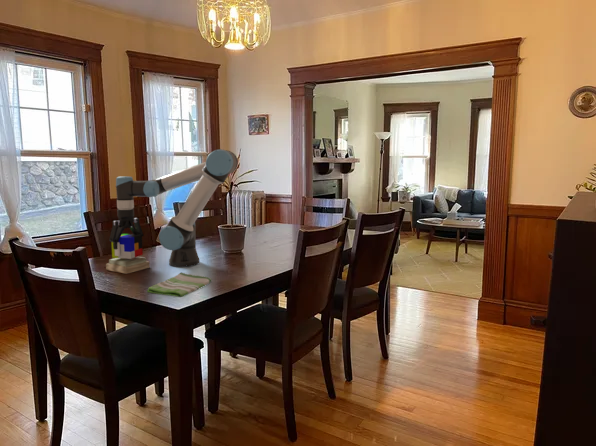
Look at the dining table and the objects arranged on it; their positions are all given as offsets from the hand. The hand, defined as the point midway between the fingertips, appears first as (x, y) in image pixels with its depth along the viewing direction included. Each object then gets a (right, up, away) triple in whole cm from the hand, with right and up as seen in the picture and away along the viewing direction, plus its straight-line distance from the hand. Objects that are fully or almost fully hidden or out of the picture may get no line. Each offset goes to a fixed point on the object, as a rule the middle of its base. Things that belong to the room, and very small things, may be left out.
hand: (127, 253), depth 213 cm
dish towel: (+34, -13, -29) cm, 46 cm away
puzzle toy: (0, -1, 0) cm, 1 cm away
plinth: (0, -7, +1) cm, 7 cm away
